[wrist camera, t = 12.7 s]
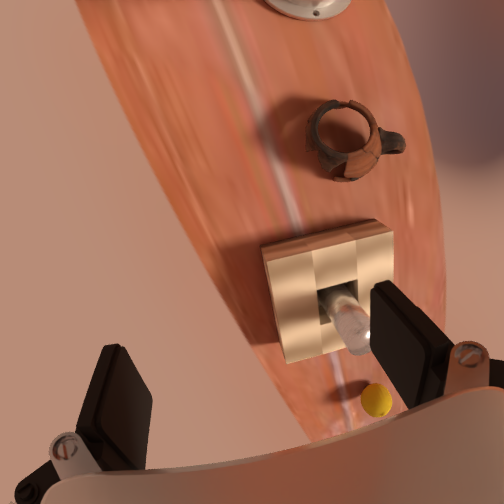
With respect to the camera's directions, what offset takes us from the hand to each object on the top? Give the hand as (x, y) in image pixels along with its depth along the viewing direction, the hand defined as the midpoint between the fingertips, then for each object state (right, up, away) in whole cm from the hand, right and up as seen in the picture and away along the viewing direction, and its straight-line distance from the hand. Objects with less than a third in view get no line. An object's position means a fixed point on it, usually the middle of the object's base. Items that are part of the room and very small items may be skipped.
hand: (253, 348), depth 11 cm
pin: (+10, -1, +32) cm, 34 cm away
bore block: (+10, -1, +33) cm, 34 cm away
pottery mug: (+11, +17, +26) cm, 33 cm away
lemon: (+22, -22, +43) cm, 53 cm away
